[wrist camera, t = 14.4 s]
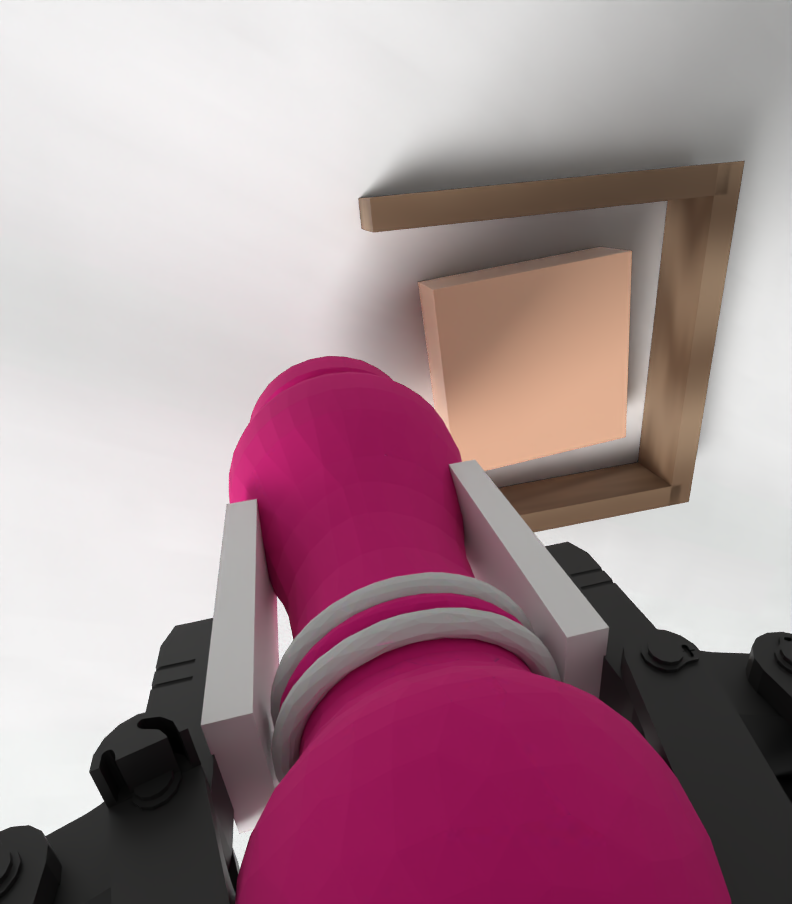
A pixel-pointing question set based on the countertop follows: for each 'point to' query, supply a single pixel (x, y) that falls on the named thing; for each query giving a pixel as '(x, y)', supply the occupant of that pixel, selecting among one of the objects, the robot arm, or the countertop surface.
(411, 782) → the pepper mill
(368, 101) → the countertop surface
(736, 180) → the walnut frame
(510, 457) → the terracotta tile
